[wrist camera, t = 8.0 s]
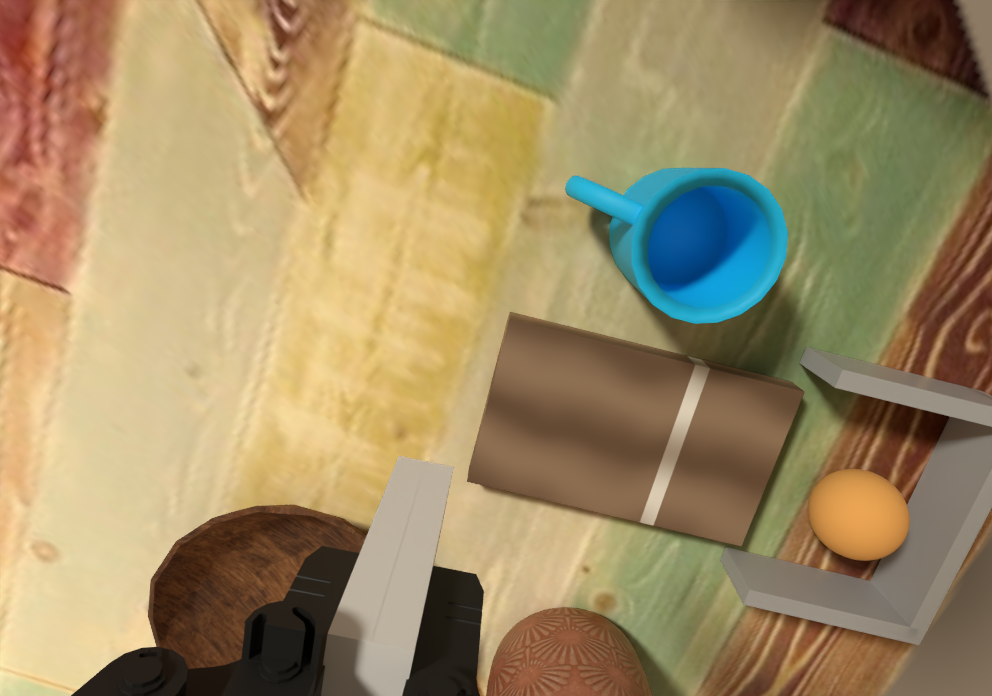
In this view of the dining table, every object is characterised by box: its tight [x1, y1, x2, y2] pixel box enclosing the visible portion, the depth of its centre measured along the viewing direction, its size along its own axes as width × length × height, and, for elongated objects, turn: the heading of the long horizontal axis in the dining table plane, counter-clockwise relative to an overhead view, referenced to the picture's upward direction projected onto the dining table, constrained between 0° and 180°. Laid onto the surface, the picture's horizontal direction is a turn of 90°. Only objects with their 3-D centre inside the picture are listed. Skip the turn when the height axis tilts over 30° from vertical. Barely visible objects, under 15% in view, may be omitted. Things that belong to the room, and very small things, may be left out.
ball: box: [808, 469, 910, 561], centre depth 43 cm, size 6×6×6 cm
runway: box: [467, 312, 804, 546], centre depth 44 cm, size 12×20×2 cm, turn 76°
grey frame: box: [720, 347, 992, 645], centre depth 43 cm, size 17×13×5 cm
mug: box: [565, 168, 788, 324], centre depth 37 cm, size 12×8×8 cm
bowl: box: [148, 505, 367, 669], centre depth 47 cm, size 20×22×5 cm
